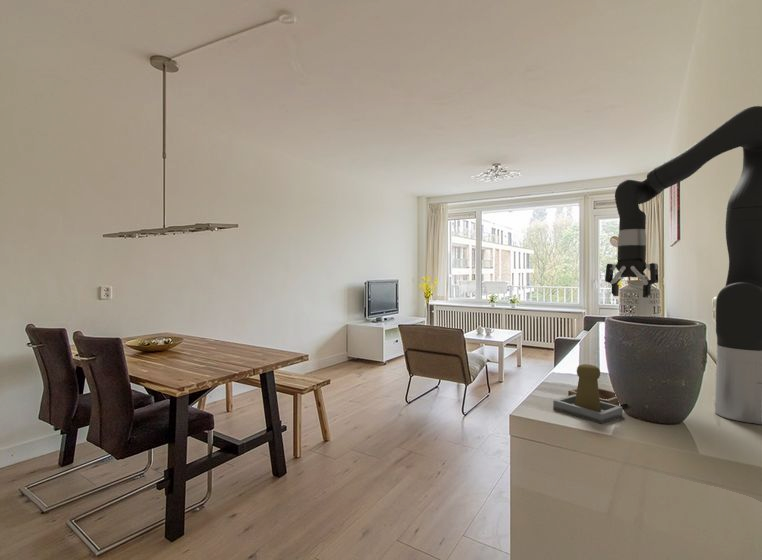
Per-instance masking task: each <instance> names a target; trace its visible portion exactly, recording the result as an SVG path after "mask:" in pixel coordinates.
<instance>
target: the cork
mask: <svg viewBox="0 0 762 560" xmlns="http://www.w3.org/2000/svg"><path fill="white" fill-rule="evenodd" d="M576 375H577V377H578V381H577V387H576V389H577V392H576V398H575V404H574V405H576V406H580V407H583V408H587V409H590V410H594V411H597V412H601V407H600V398H599V389H598V388H599V382H598V379H600V376H601V369H600V368H599V367H598V366H596V365H592V364H589V363H587V364H585V363H584V364H579V365H578V366H577V368H576Z"/></svg>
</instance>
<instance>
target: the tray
mask: <svg viewBox="0 0 762 560" xmlns="http://www.w3.org/2000/svg"><path fill="white" fill-rule="evenodd" d="M575 398H576V395H575V394H574V395H570V396H568V395H567V396H564V397H561V398H558V399H553V410H555V409H556V410H555V411H558V410H559V411H558V412H562V413H565V414H569V415H571V416H576V417H578V418H581V419H583V420H584V419H585V420H588V421H592V422H594V423H597V424H600V425H603V424H606V423H608V422H610V421H613V420H617V419H618V417H619V418H621V417H623V406H617V405H613V404H609V403H606V402H602V401H600V407H601V412H597V411H594V410H590V409H587V408H583V407H580V406H576V405H574V404H575ZM620 416H621V417H620Z"/></svg>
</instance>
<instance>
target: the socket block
mask: <svg viewBox="0 0 762 560" xmlns="http://www.w3.org/2000/svg"><path fill="white" fill-rule="evenodd" d="M598 389H599V398H600V401H602V402H606V403H609V404H613V405H617V406H619V402H618V399H617V398H616V396H615V393H614V392H615V391H612V390H609V389H604V388H600V387H598ZM576 392H577V388H573V389H569V390H568V395H567V396H570V395H574V394H575V395H576ZM602 398H603V399H602ZM606 399H607V400H606Z"/></svg>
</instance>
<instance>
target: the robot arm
mask: <svg viewBox="0 0 762 560" xmlns="http://www.w3.org/2000/svg"><path fill="white" fill-rule="evenodd" d="M740 147H741V148H742V152H743V153H742V155H743V157H742V158H743V159H742V171H741V174H740V178H738V179H739V180H738V181H737V183H736V185H735V186H734V189H733V191H732V192H731V194H730V196H729V199H728V202H727V207H726V212H725V213H726V214H725V215H726V217H725V241H726V247H727V253H728V271H727V277H726V282H725V286H724V287H723V288H722V289H721V290H720V291H719V292H718V294H717V297H716V303H715V334H716V339H717V340H716V368H715V393H714V394H715V395H714V398H715V399H714V412H715V414H717V416H721V417H723V418H726V419H729V420H733V421H738V422H743V423H748V424H749V423H751V424H757V425H762V105H757V106H756V105H754V106H750V107H747V108H745V109H743V110H741V111H739V112H737V113H736V114H735V115H733V116H732V117H730V118H729V119H727V120H726V121H725V122H724V123H722V124H721V125H719V126H718V127H716V128H715V129H714V130H713V131H711V132H710V133H709V134H707V135H705V136H704V137H703V138H701V139H699V141H697V142H696V143H694V144H693V145H691V146H690V147H688V148H686V149H685V150H683V151H682V152H680V153H679V154H677V155H675V156H673V157H671V158H669V159H668V160H666V161H664V162H662V163H660V164H659V165H657V166H655V167H653V168H652V169H651V170H649V171H648V172H647V173H646V177H645V179H643V180H641V181H639V180H635V179H625V180H623V181H620V183H618V185H617V186H616V189H615V191H614V200H615V205H616V210H617V214H618V217H619V221H618V223H619V224H618V228H619V230H618V236H617V243H616V244H617V256H616V259H617V262H616V263H606V267H605V268H606V269H605V277H604V281H605V282H606V283H609V284H611V290H610V291H611V294H612V295H613V296H614V297H619V296H620V295H619V293H620V290H619V289H620V288H619V287H620V285H619V283H620V282H621V281H622V280H623V279H624V278H638V280H640V281H641V282H642V283H643V286H642V298H649V297H650V296H651V291H652V290H651V288H652V285H654V284H658V283H659V265H658V263H656V262H651V263H647V262H646V257H647V233H646V231H647V230H646V229H647V227H646V224H647V215H646V213H645V212H644V211H643V210H641V209H640V206H639V205H641V204H646V203H647V202H649V201H651V200H652V199H654V198H655V197H657V196H658V195H659V194H661V193H662V192H663V191H665V190H666V189H668V188H670V187H672V186H675V185H677V184H678V183H680V182H682V181H684V180H686V179H688V178H690V177H691V176H692V175H693V174H695V173H696V172H698V171H699V169H701V168H702V167H703V166H704V165H706V163H708V162H709V161H711V160H713V159H714V158H716V157H718V156H719V155H721V154H723V153H726V152H729V151H731V150H734V149H738V148H740ZM646 269H647V270H648V271H649V274H650V275H649V278H648V275H647V274H646V273H645V270H646ZM616 270H617V271H618V272H617V273H616V274H615V275H614V271H616Z"/></svg>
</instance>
